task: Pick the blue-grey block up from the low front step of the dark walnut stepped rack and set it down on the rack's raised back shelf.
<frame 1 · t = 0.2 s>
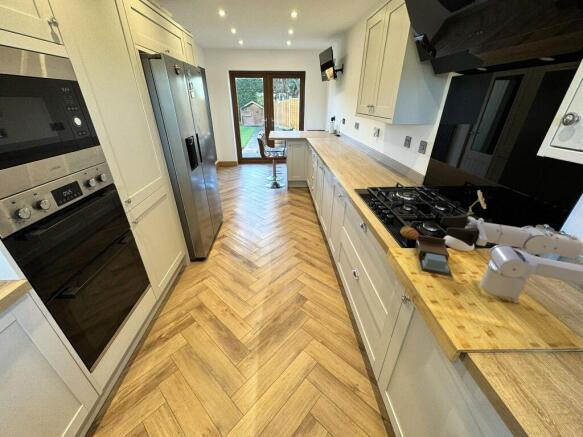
hand: (443, 225, 74), 21 cm above the worktop, tool horizontal, fingers open, 7 cm apart
flower in vase: (457, 246, 102), on the worktop
pastry: (409, 236, 109), on the worktop
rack: (431, 262, 92), on the worktop
blue-grey block: (434, 267, 87), point 1 cm above the worktop, touching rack
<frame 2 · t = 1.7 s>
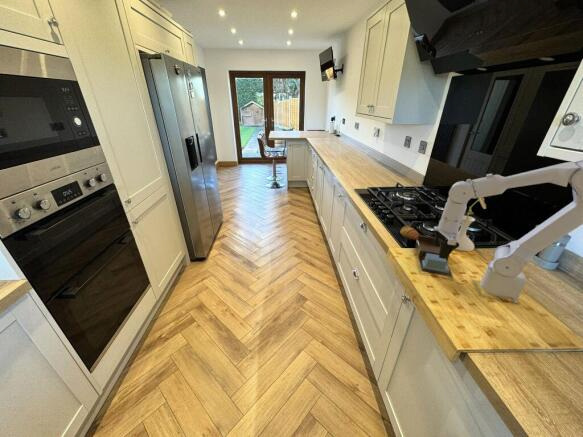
hand: (440, 251, 84), 8 cm above the worktop, tool pointing down, fingers open, 7 cm apart
nothing on the worktop moved.
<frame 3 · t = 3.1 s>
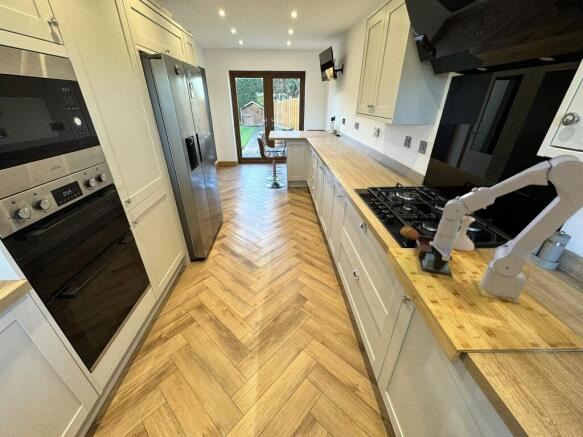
hand: (435, 265, 86), 2 cm above the worktop, tool pointing down, fingers closed on blue-grey block, 4 cm apart
blue-grey block: (434, 267, 87), point 1 cm above the worktop, touching gripper, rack
everything else where it was.
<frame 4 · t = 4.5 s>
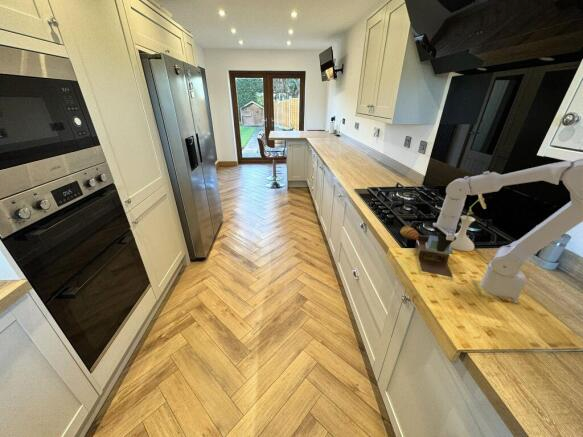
hand: (438, 247, 86), 8 cm above the worktop, tool pointing down, fingers closed on blue-grey block, 4 cm apart
blue-grey block: (438, 249, 86), point 8 cm above the worktop, touching gripper
everything else where it was.
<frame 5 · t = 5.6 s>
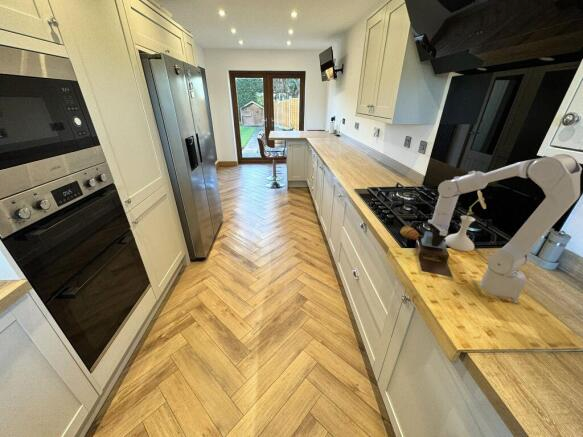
hand: (433, 242, 93), 6 cm above the worktop, tool pointing down, fingers closed on blue-grey block, 4 cm apart
blue-grey block: (433, 244, 93), point 5 cm above the worktop, touching gripper
everything else where it was.
when the fingers open (5 cm above the worktop, at t = 6.3 s): blue-grey block stays where it is, resting on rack.
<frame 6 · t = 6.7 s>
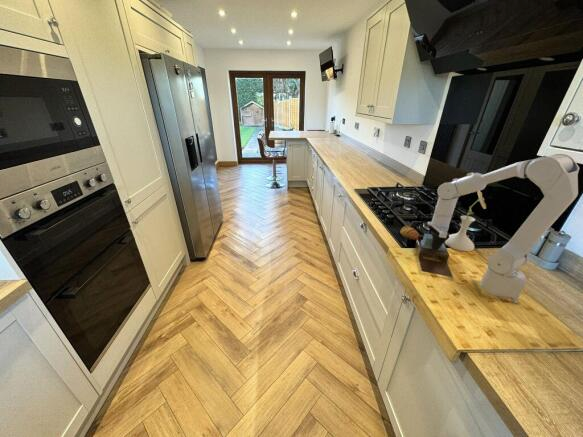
hand: (433, 244, 93), 5 cm above the worktop, tool pointing down, fingers open, 6 cm apart
blue-grey block: (432, 246, 93), point 4 cm above the worktop, touching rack
everything else where it was.
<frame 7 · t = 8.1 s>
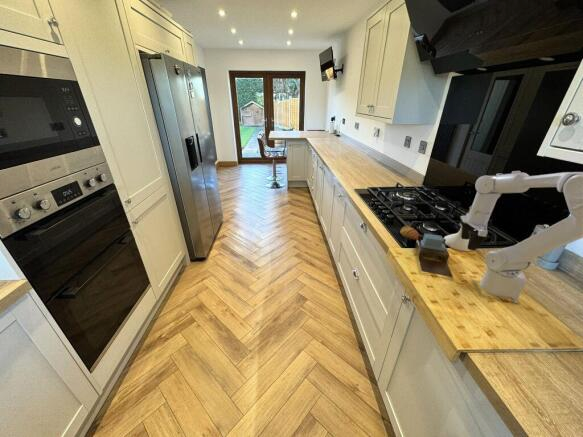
hand: (467, 243, 86), 9 cm above the worktop, tool pointing down, fingers open, 7 cm apart
nothing on the worktop moved.
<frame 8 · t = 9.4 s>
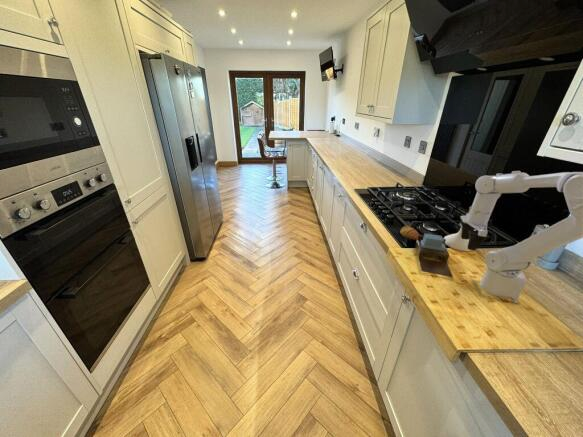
hand: (467, 243, 86), 9 cm above the worktop, tool pointing down, fingers open, 7 cm apart
nothing on the worktop moved.
at the end: blue-grey block inside the target area on the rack (0.0 cm from its centre), point 4.5 cm above the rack's base; blue-grey block tilted 0°; the gripper is holding nothing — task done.
